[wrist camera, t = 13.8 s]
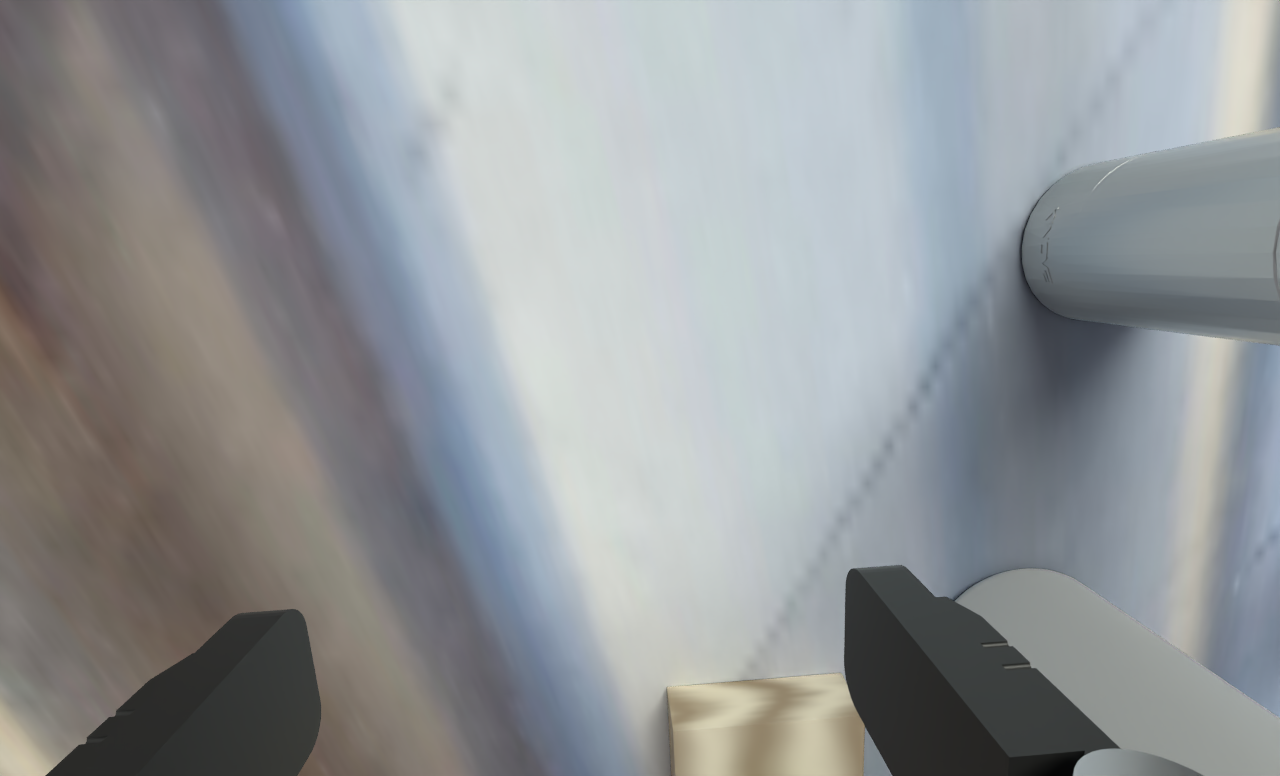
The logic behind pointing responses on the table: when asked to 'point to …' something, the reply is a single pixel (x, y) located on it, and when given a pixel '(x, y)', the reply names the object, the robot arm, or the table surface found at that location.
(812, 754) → the base block
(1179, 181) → the robot arm
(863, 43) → the table surface
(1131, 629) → the cylinder vase
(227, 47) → the table surface
